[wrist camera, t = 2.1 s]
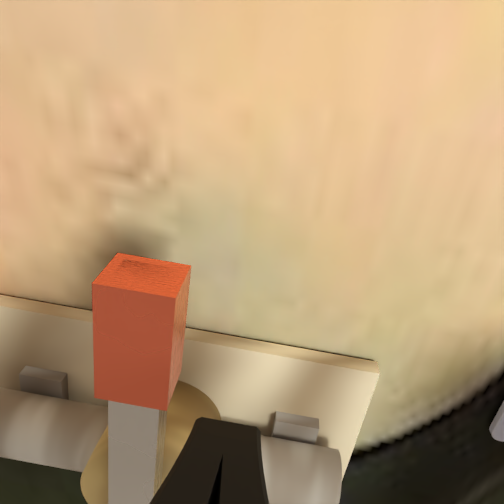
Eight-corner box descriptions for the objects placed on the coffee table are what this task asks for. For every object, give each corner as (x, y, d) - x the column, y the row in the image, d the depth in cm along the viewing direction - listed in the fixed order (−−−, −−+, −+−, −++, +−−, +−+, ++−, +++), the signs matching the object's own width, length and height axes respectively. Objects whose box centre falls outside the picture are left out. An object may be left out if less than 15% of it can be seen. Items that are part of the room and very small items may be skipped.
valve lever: (169, 521, 18) (157, 568, 17) (113, 511, 18) (94, 556, 17) (194, 266, 13) (179, 298, 11) (114, 252, 13) (88, 282, 11)
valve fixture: (377, 361, 20) (398, 451, 16) (328, 502, 24) (334, 602, 20) (-13, 292, 20) (-98, 361, 16) (9, 443, 25) (-52, 528, 20)
